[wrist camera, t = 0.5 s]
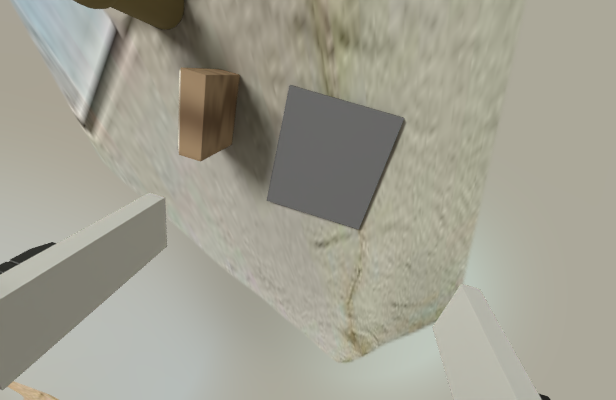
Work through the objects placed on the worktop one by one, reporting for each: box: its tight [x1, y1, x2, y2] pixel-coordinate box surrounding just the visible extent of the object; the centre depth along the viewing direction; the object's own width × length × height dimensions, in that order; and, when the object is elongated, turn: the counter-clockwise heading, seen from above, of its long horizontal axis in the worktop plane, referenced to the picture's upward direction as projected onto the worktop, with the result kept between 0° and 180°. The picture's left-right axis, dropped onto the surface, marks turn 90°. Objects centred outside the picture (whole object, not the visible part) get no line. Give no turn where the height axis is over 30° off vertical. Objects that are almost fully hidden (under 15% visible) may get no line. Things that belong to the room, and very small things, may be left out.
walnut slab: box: [178, 68, 240, 161], centre depth 31 cm, size 9×3×8 cm, turn 166°
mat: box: [267, 85, 404, 229], centre depth 35 cm, size 16×14×1 cm
